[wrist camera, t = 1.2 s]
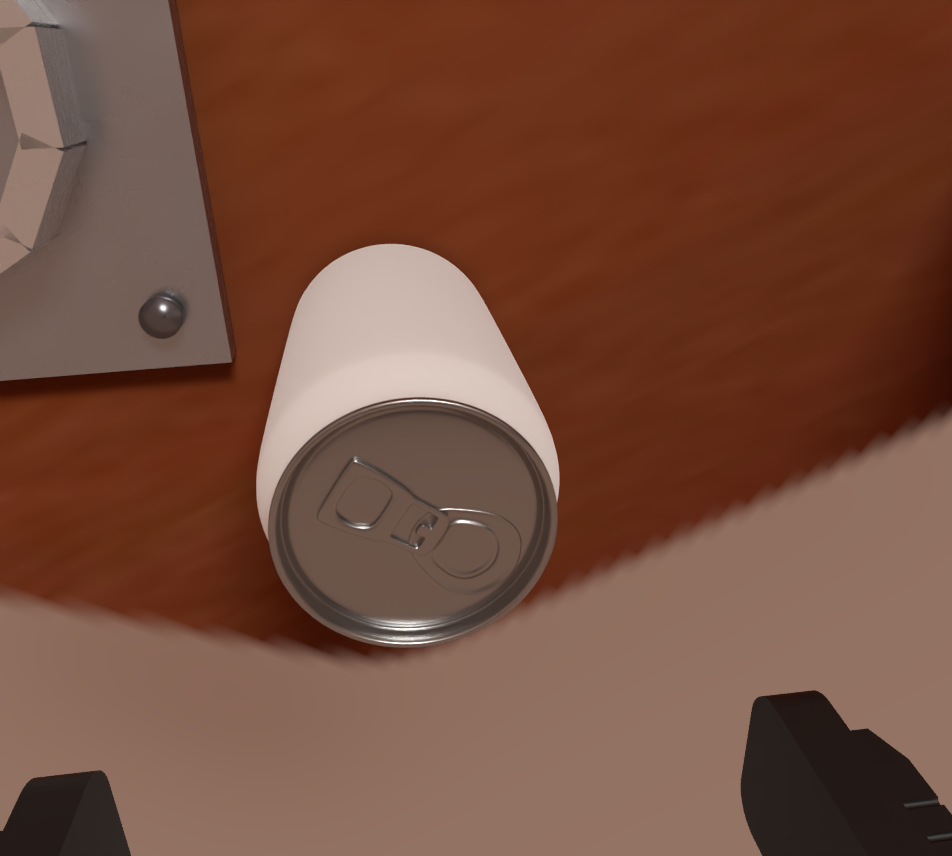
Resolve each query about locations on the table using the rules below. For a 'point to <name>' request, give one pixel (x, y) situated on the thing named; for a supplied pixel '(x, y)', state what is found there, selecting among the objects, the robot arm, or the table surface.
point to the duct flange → (103, 195)
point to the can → (404, 456)
